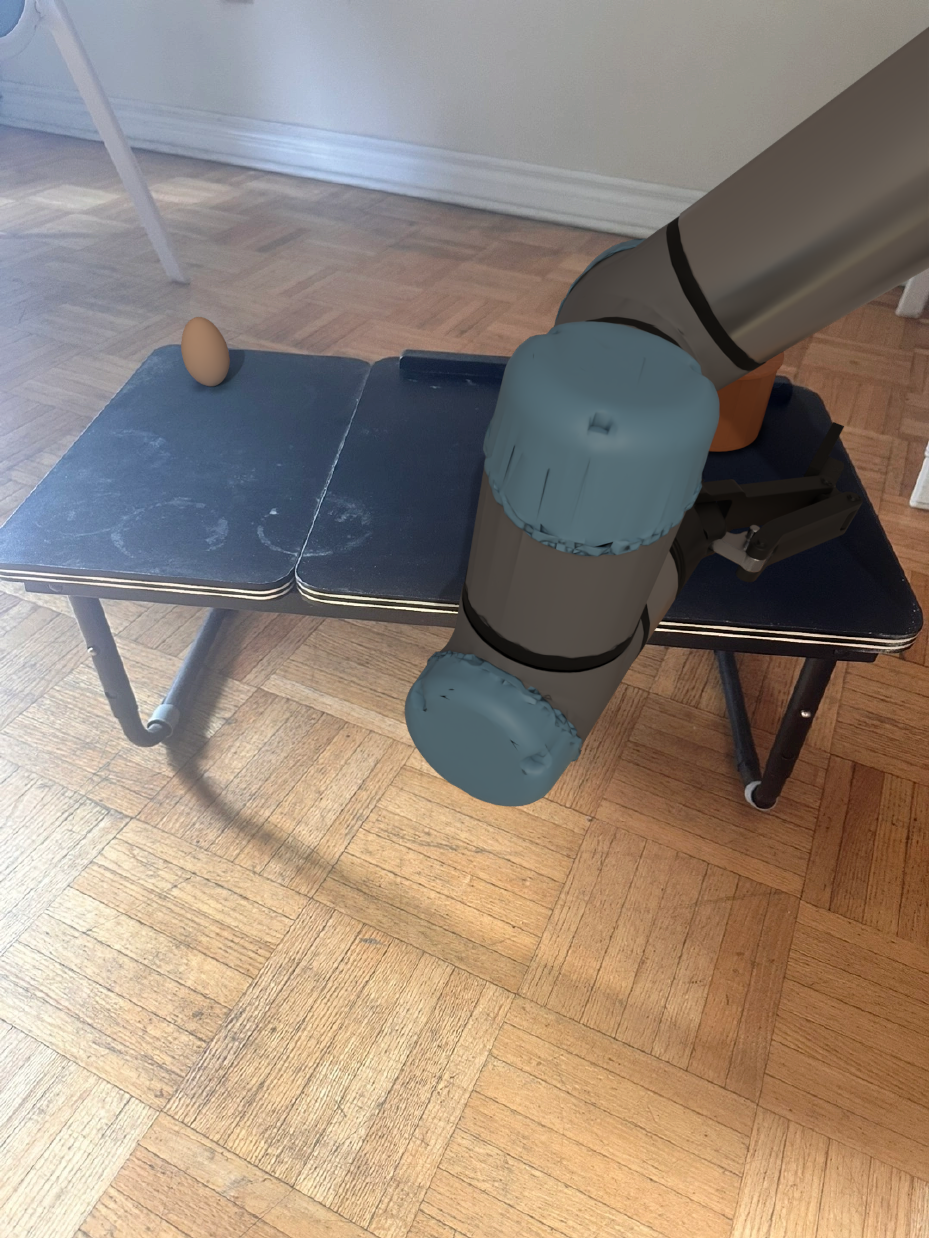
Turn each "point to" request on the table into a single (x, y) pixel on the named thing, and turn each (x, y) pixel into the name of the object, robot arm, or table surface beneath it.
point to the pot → (741, 412)
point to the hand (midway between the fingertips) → (735, 404)
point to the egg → (205, 352)
